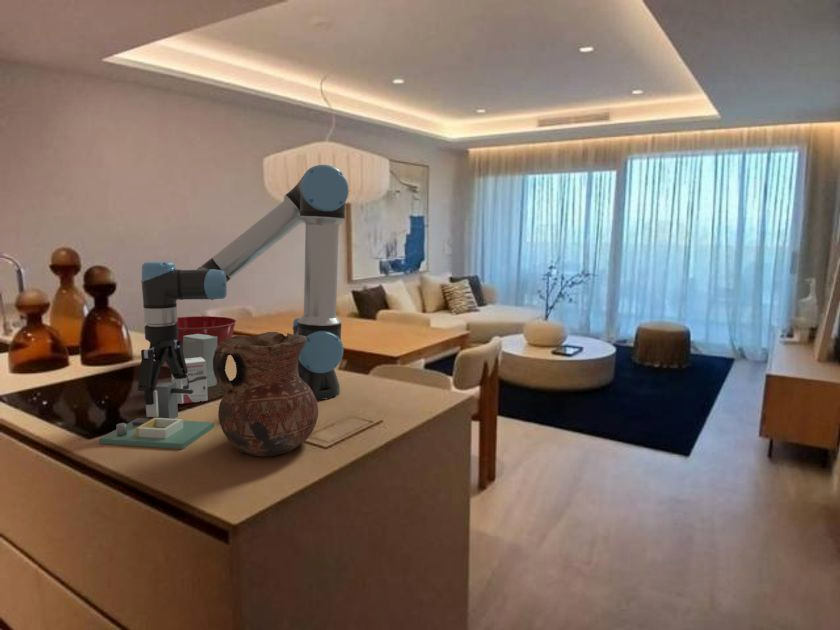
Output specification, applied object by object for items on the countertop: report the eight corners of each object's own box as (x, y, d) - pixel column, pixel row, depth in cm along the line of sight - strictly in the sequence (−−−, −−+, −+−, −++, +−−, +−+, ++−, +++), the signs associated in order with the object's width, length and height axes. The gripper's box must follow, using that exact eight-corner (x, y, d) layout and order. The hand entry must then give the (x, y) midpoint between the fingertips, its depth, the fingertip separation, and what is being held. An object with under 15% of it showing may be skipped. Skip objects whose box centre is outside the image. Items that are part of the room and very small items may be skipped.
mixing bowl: (219, 351, 219) (217, 313, 217) (250, 364, 199) (249, 322, 196) (143, 361, 200) (140, 319, 198) (169, 376, 180) (167, 330, 177)
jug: (264, 423, 137) (261, 325, 133) (336, 436, 129) (335, 332, 125) (197, 455, 117) (191, 341, 113) (277, 473, 109) (274, 350, 105)
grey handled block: (198, 417, 141) (196, 383, 139) (190, 422, 137) (188, 388, 135) (161, 415, 142) (159, 381, 141) (152, 420, 138) (150, 386, 137)
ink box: (175, 405, 150) (173, 363, 149) (172, 400, 154) (170, 360, 153) (208, 400, 155) (206, 360, 153) (204, 396, 159) (202, 356, 157)
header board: (214, 427, 134) (213, 413, 133) (182, 449, 120) (181, 433, 120) (138, 422, 136) (137, 408, 136) (99, 443, 123) (97, 428, 122)
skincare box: (181, 386, 168) (179, 336, 166) (199, 381, 175) (196, 332, 172) (203, 390, 165) (200, 338, 163) (220, 384, 172) (218, 334, 169)
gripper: (173, 316, 148) (177, 395, 151) (116, 331, 125) (122, 423, 128) (199, 317, 147) (202, 397, 150) (146, 332, 124) (152, 425, 128)
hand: (165, 409), depth 139 cm, fingers open, 10 cm apart
